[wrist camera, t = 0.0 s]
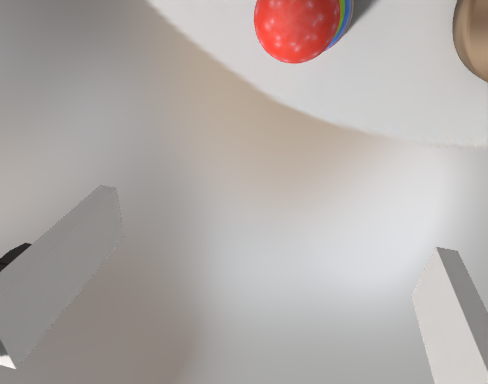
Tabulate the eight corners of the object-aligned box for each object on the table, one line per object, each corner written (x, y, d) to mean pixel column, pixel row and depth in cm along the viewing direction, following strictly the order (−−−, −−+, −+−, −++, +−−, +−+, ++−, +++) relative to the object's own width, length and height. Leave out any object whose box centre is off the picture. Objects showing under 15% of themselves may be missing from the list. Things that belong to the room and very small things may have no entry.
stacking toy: (369, -21, 31) (409, -29, 16) (331, 63, 36) (332, 121, 20) (290, -52, 32) (253, -90, 16) (262, 36, 36) (211, 74, 20)
